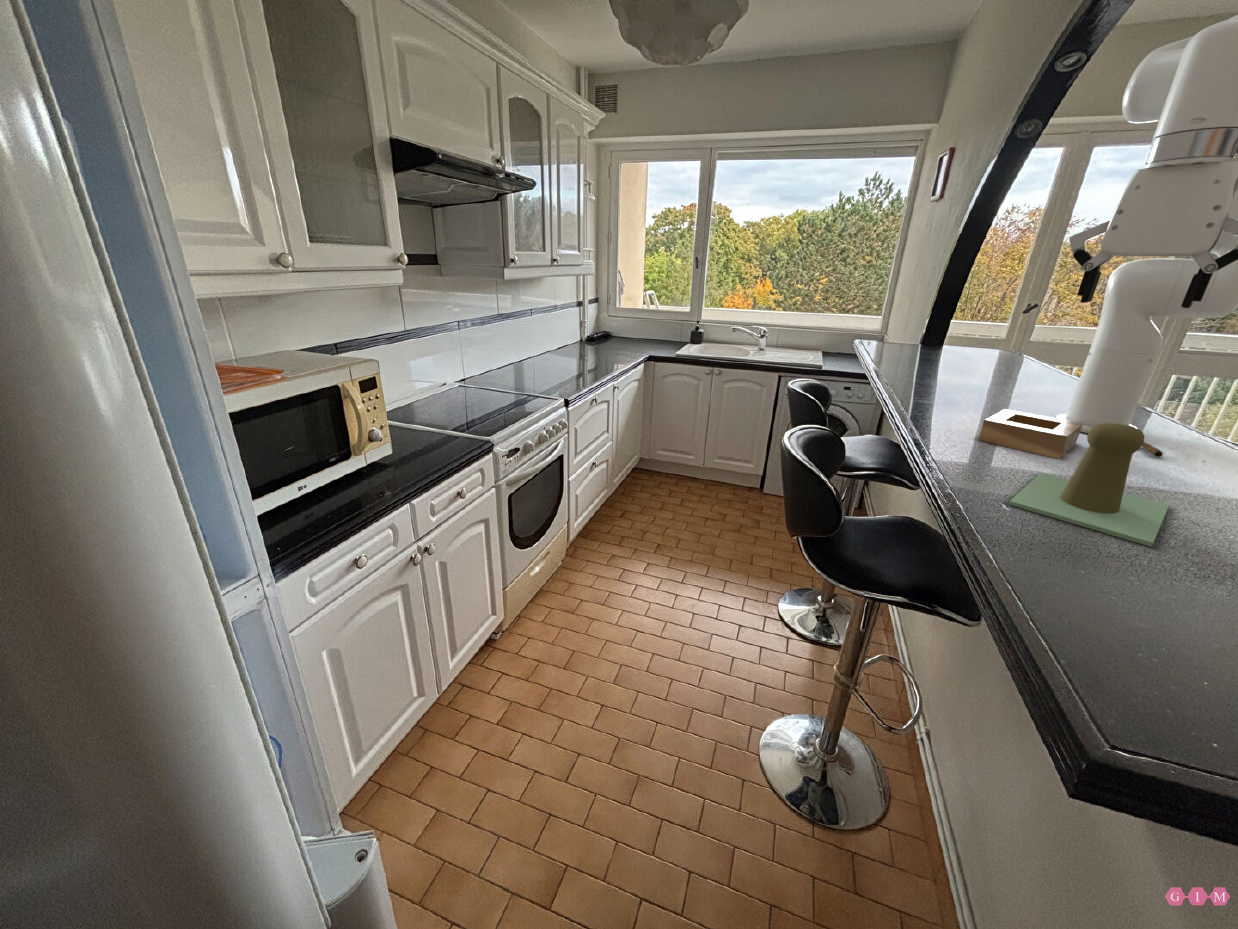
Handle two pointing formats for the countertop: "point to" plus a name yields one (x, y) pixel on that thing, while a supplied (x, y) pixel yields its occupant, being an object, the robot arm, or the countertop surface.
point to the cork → (1103, 468)
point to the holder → (1030, 432)
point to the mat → (1130, 523)
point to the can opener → (1152, 450)
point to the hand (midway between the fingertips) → (1133, 304)
